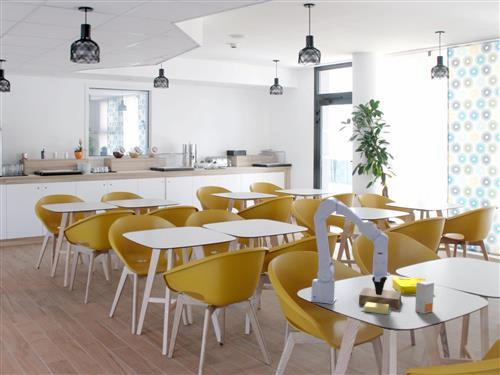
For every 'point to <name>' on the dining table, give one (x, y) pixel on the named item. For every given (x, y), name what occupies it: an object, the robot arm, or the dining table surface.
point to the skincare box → (424, 297)
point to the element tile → (406, 285)
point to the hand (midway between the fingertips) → (378, 294)
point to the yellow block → (376, 307)
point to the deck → (380, 297)
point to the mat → (380, 313)
